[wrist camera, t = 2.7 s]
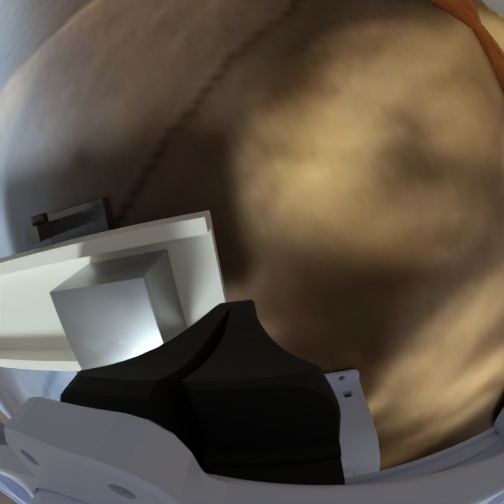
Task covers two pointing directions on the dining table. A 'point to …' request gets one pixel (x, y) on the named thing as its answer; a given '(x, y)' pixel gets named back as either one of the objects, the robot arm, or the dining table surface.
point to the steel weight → (119, 308)
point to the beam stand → (71, 223)
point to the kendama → (476, 31)
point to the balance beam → (90, 251)
